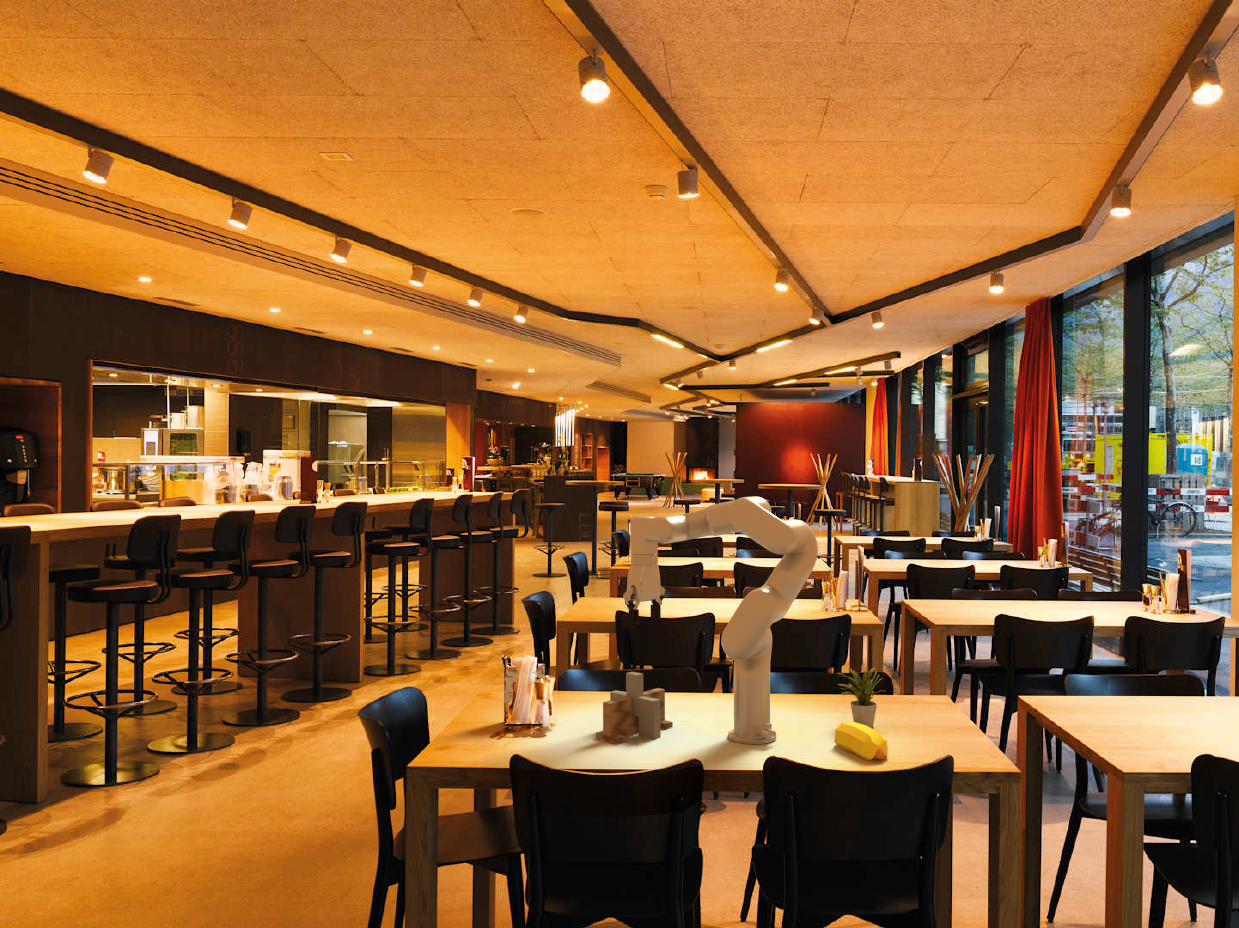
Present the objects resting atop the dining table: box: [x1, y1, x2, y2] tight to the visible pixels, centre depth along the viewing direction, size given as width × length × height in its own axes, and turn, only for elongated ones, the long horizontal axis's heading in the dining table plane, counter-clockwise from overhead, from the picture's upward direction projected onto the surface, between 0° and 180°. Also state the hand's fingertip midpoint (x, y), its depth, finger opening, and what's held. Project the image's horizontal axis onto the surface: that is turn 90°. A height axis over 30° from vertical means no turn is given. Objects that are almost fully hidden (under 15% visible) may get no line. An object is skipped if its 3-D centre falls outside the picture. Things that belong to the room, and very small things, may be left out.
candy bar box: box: [503, 663, 546, 725], centre depth 267 cm, size 11×5×16 cm, turn 92°
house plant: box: [836, 667, 886, 729], centre depth 264 cm, size 14×14×16 cm
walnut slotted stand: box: [595, 687, 674, 745], centre depth 257 cm, size 22×8×10 cm, turn 137°
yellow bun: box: [833, 721, 889, 761], centre depth 238 cm, size 18×7×8 cm
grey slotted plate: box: [609, 671, 661, 740], centre depth 257 cm, size 16×2×16 cm, turn 47°
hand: (644, 621), depth 267 cm, fingers open, 9 cm apart
